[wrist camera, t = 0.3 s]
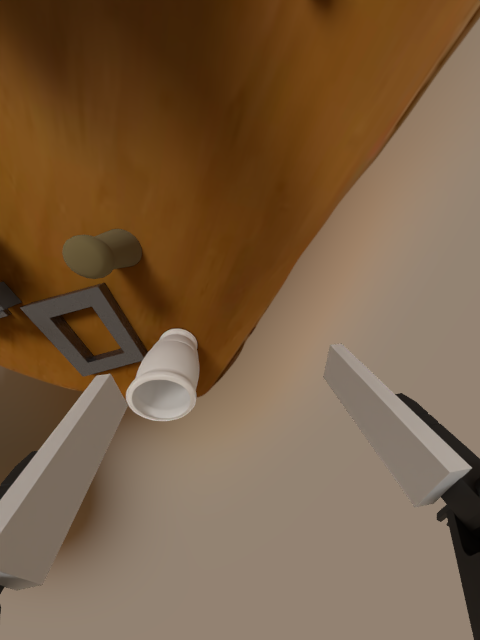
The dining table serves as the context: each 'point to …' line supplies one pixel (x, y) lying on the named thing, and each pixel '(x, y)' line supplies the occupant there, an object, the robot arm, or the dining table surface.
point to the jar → (166, 378)
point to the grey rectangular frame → (68, 342)
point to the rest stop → (7, 297)
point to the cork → (101, 253)
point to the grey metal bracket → (4, 313)
